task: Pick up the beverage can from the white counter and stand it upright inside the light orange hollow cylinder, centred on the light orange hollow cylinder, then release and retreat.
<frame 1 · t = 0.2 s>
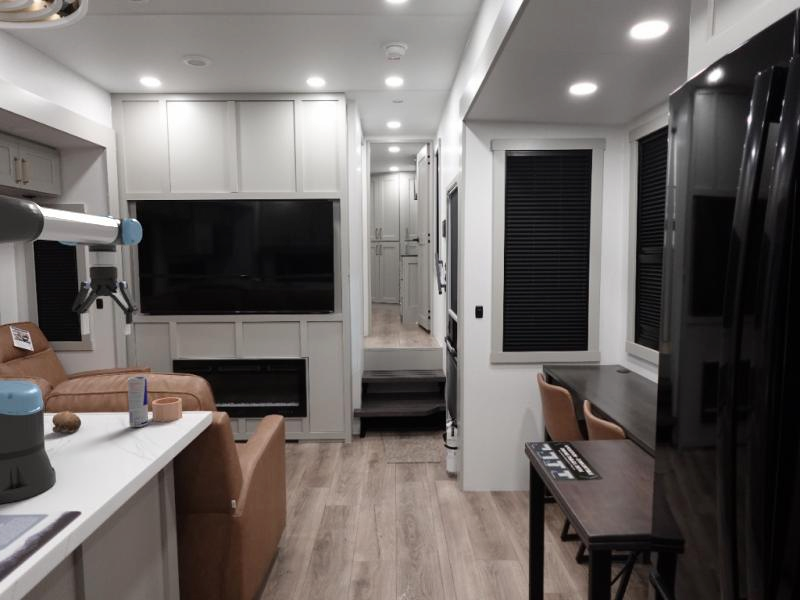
hand: (106, 334, 161), 27 cm above the kitchen island, fingers open, 13 cm apart
beverage can: (139, 426, 158), on the kitchen island
mushroom: (67, 432, 153), on the kitchen island
light orange hollow cylinder: (167, 417, 166), on the kitchen island
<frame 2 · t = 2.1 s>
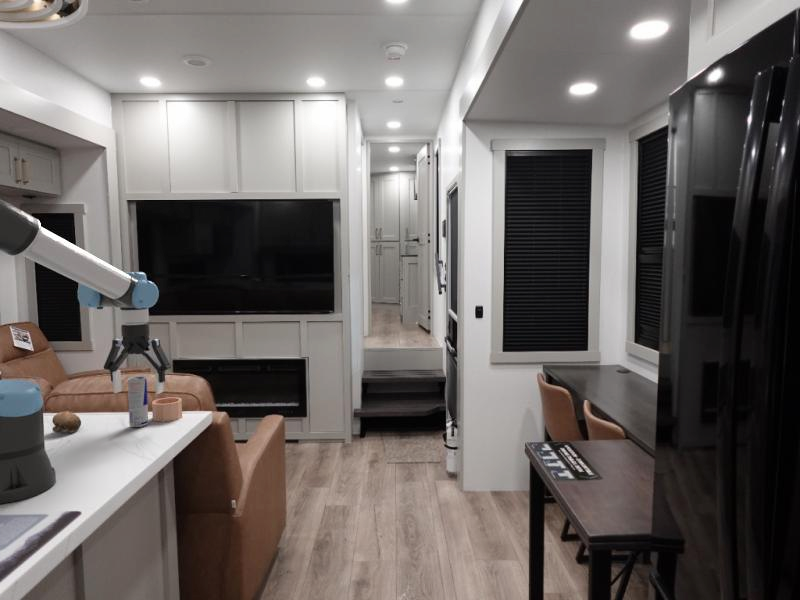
hand: (138, 392, 158), 10 cm above the kitchen island, fingers open, 13 cm apart
nothing on the kitchen island moved.
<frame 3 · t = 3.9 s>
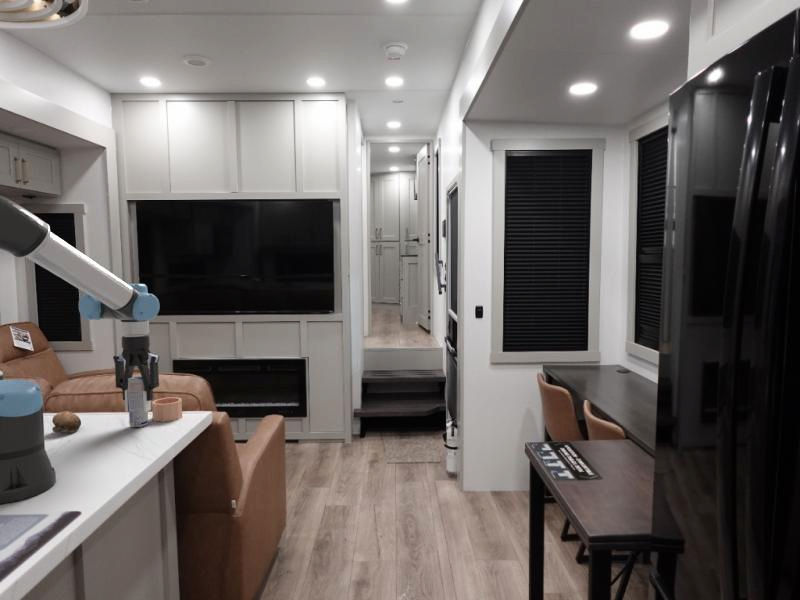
hand: (138, 410, 158), 5 cm above the kitchen island, fingers closed on beverage can, 5 cm apart
beverage can: (139, 426, 158), on the kitchen island, touching gripper
everything else where it was.
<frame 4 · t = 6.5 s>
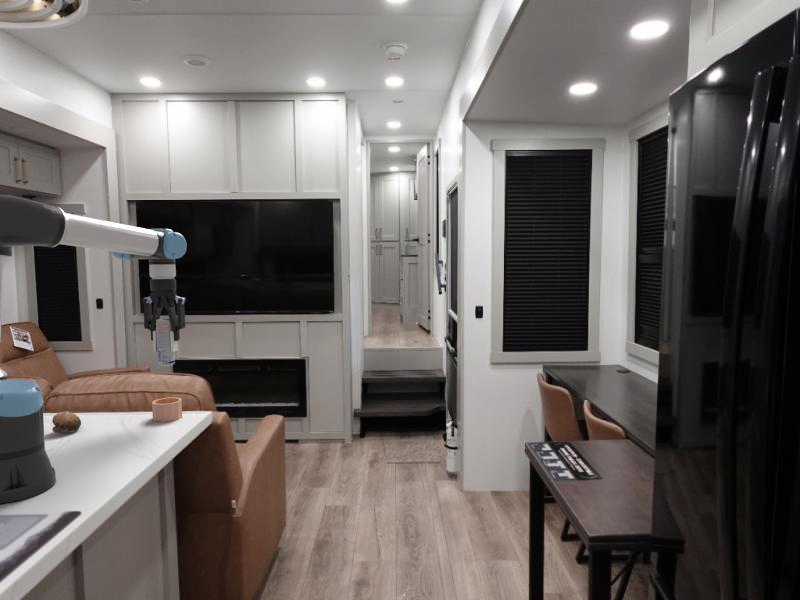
hand: (165, 350, 165), 22 cm above the kitchen island, fingers closed on beverage can, 5 cm apart
beverage can: (166, 366, 166), point 17 cm above the kitchen island, touching gripper
everything else where it was.
when the fingers open (7 cm above the kitchen island, at t = 9.3 s): beverage can drops 1 cm, resting on light orange hollow cylinder.
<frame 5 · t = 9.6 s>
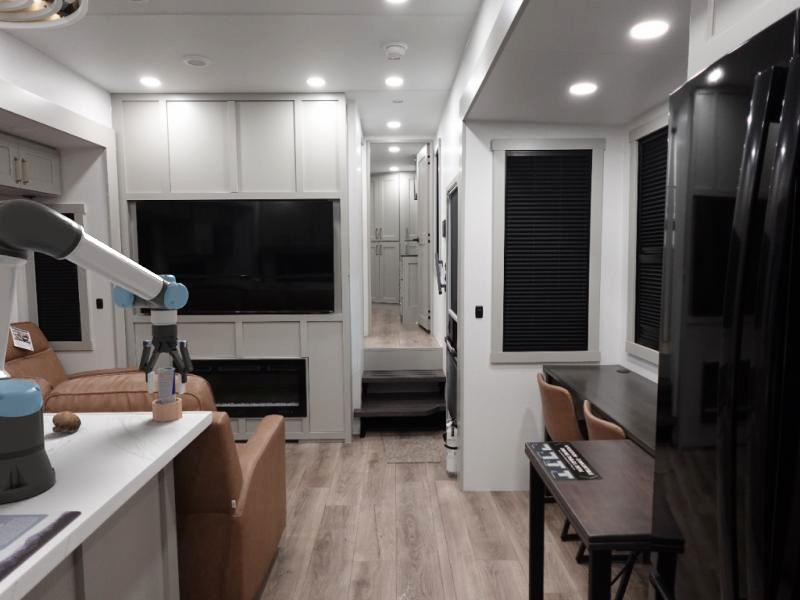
hand: (166, 392, 166), 8 cm above the kitchen island, fingers open, 9 cm apart
beverage can: (167, 414, 166), point 1 cm above the kitchen island, touching light orange hollow cylinder
everything else where it was.
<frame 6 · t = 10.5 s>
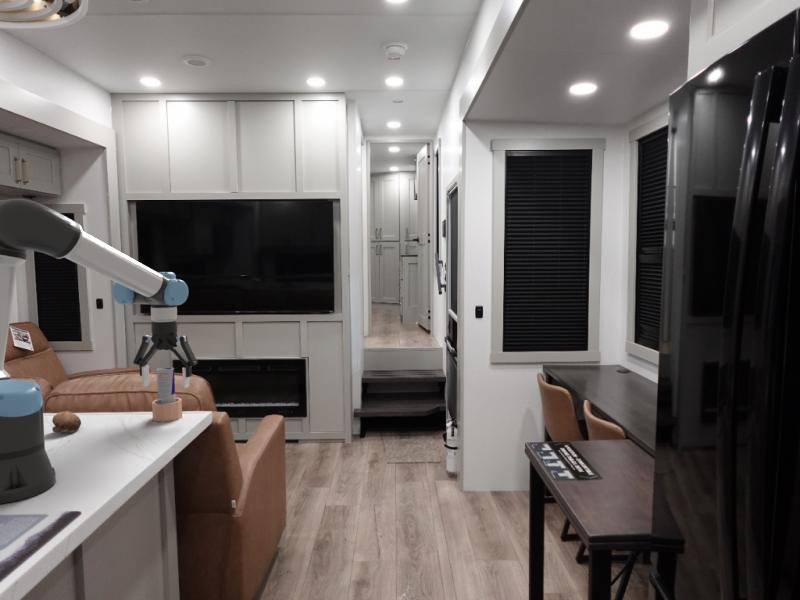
hand: (166, 386, 166), 10 cm above the kitchen island, fingers open, 13 cm apart
nothing on the kitchen island moved.
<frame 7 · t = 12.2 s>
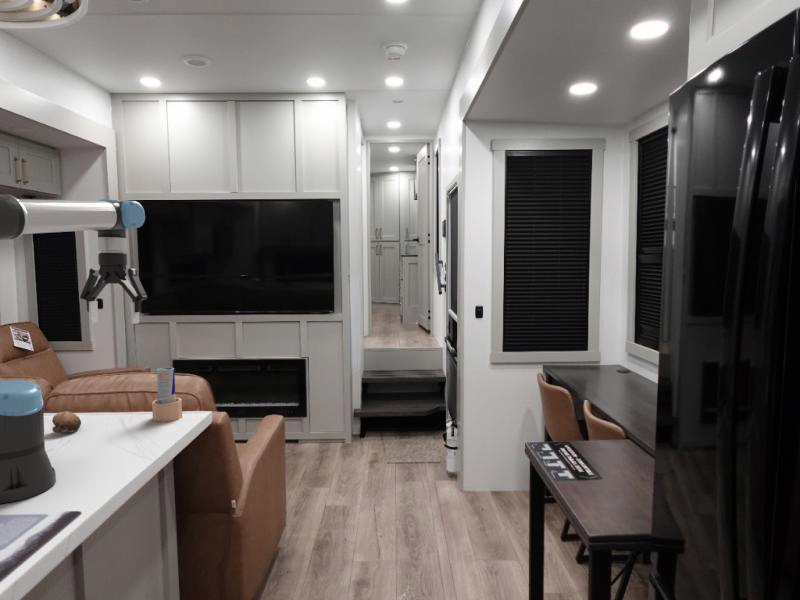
hand: (114, 323, 156), 32 cm above the kitchen island, fingers open, 13 cm apart
nothing on the kitchen island moved.
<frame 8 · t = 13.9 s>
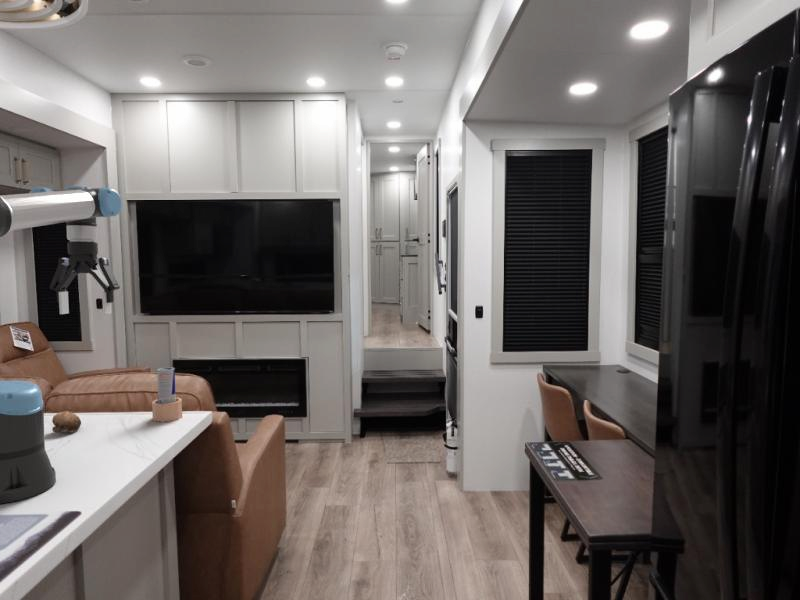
hand: (85, 314, 152), 35 cm above the kitchen island, fingers open, 13 cm apart
nothing on the kitchen island moved.
at the end: beverage can 0.1 cm from the light orange hollow cylinder (horizontally); beverage can point 0.9 cm above the kitchen island; beverage can tilted 0°; beverage can touching light orange hollow cylinder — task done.
